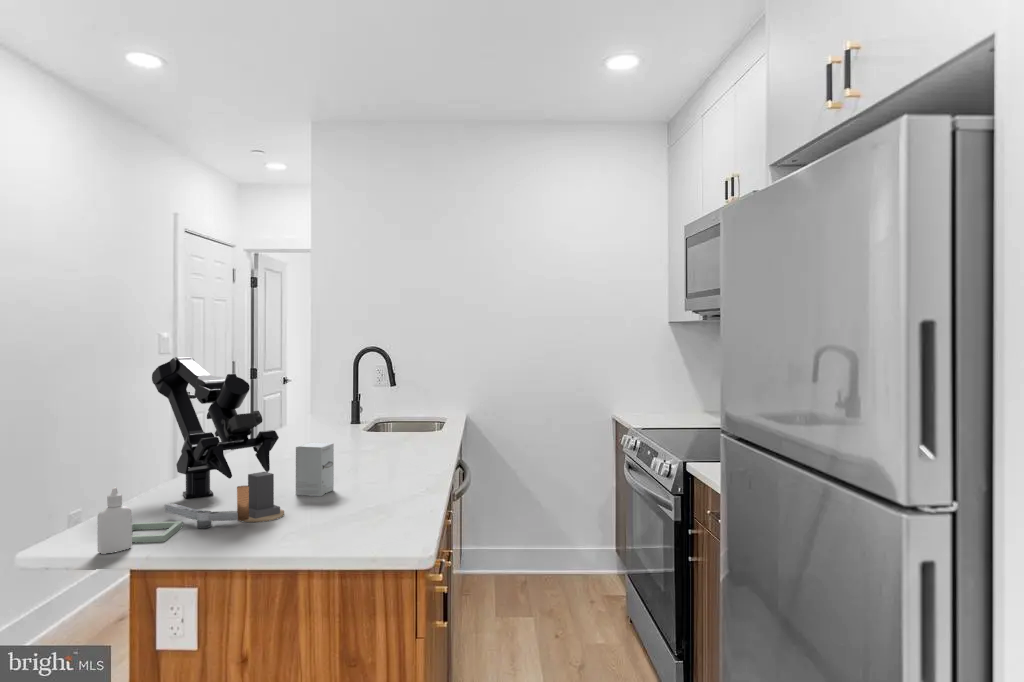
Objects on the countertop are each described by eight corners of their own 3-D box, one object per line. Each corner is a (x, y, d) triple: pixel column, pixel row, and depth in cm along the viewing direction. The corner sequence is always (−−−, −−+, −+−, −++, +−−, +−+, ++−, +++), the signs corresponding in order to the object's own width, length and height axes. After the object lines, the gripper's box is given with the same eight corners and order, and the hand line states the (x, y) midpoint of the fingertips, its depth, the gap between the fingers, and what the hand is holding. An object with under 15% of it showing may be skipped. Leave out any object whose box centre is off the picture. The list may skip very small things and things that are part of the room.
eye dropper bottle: (100, 549, 130) (99, 486, 129) (133, 545, 132) (132, 484, 132) (95, 555, 126) (95, 491, 125) (130, 552, 128) (129, 489, 128)
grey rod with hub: (251, 524, 145) (251, 486, 145) (218, 533, 139) (218, 493, 139) (194, 510, 157) (194, 475, 157) (162, 518, 151) (162, 481, 151)
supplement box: (321, 496, 171) (321, 447, 171) (294, 495, 173) (294, 446, 172) (334, 490, 178) (334, 442, 178) (309, 489, 180) (308, 441, 180)
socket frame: (130, 528, 143) (130, 523, 143) (182, 526, 145) (182, 521, 145) (108, 543, 133) (108, 537, 133) (164, 541, 134) (164, 535, 134)
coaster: (233, 514, 154) (233, 511, 154) (278, 508, 160) (278, 505, 160) (242, 524, 146) (242, 522, 146) (289, 518, 151) (289, 515, 151)
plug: (241, 514, 152) (241, 474, 152) (266, 508, 157) (266, 470, 157) (255, 518, 149) (255, 478, 148) (280, 513, 153) (279, 473, 153)
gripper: (199, 403, 152) (222, 458, 145) (275, 397, 166) (299, 447, 159) (183, 434, 157) (205, 489, 150) (258, 425, 171) (281, 475, 164)
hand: (249, 474), depth 156 cm, fingers open, 9 cm apart
